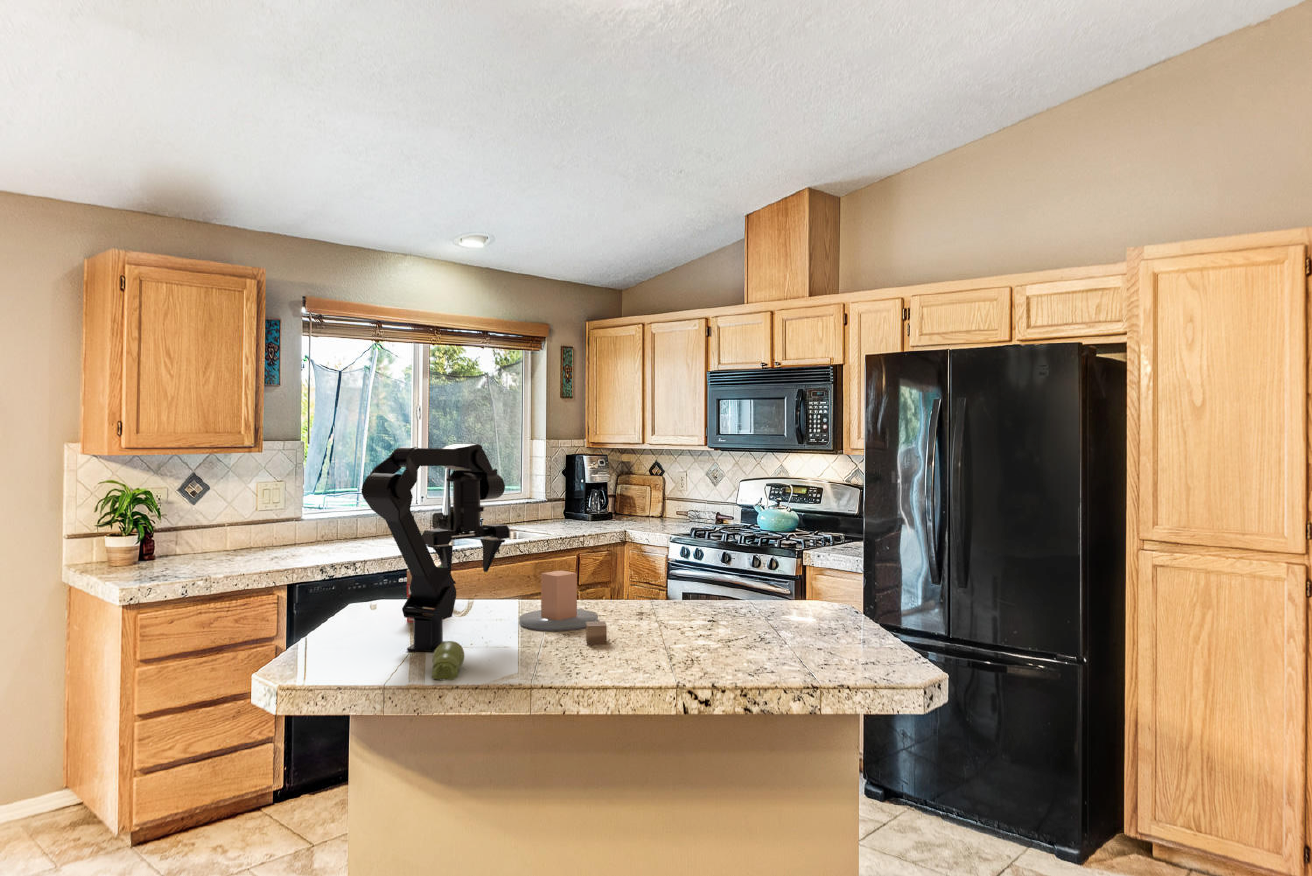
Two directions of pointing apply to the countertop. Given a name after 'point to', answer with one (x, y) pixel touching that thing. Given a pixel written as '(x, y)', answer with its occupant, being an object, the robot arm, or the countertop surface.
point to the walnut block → (596, 633)
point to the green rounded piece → (447, 660)
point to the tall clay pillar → (558, 595)
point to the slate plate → (557, 621)
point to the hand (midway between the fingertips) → (467, 574)
